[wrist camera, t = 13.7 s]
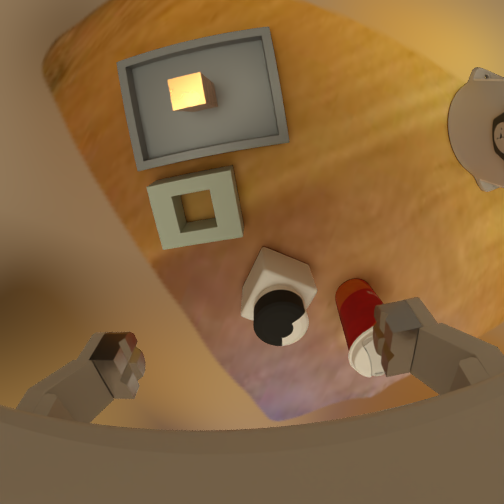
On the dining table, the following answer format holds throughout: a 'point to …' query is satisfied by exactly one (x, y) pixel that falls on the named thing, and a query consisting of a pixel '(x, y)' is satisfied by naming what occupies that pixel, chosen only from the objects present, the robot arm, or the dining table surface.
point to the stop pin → (192, 93)
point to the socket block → (203, 231)
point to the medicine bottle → (278, 297)
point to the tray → (209, 120)
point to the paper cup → (359, 325)
